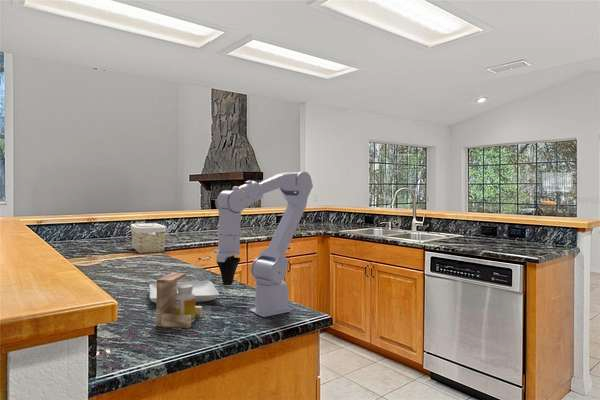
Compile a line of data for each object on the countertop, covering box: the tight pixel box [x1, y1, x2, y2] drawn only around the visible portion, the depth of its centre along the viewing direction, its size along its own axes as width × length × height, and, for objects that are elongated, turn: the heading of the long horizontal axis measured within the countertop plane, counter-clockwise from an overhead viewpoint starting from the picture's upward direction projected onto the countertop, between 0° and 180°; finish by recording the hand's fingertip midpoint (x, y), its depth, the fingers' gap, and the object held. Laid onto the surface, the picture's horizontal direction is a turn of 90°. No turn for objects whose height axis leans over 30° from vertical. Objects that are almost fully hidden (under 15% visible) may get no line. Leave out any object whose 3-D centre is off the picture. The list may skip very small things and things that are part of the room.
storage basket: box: [130, 222, 167, 254], centre depth 238 cm, size 24×16×15 cm
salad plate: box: [148, 280, 220, 304], centre depth 136 cm, size 21×21×3 cm
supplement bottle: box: [175, 284, 196, 324], centre depth 111 cm, size 5×5×10 cm
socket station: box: [155, 272, 203, 329], centre depth 111 cm, size 9×10×12 cm
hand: (227, 284), depth 111 cm, fingers closed
